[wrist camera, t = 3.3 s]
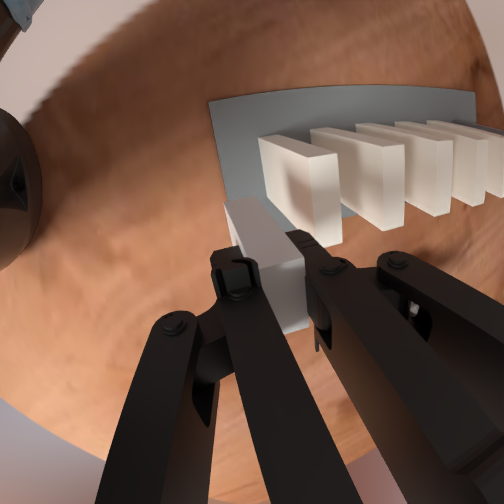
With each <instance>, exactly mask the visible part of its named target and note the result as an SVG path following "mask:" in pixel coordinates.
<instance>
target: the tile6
mask: <svg viewBox="0 0 504 504" xmlns="http://www.w3.org/2000/svg"><path fill="white" fill-rule="evenodd" d="M453 124H458V125H463V126H467V127H471V128H476V129H480V130H484V131H488V132H491V133H495V134H499V135H502V136H504V130H501V129H497V128H493V127H489V126H485V125H481V124H477V123H472V122H468V121H463V120H453Z"/></svg>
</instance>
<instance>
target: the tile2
mask: <svg viewBox="0 0 504 504" xmlns="http://www.w3.org/2000/svg"><path fill="white" fill-rule="evenodd" d="M310 136H311V144H312V145H314V146H317V147H320V148H323V149H326V150H329V151H332V152H335V153H337V157H338V169H339V183H340V199H341V203H342V204H344V205H345V206H347V207H348V208H350V209H351V210H353V211H354V212H356V213H357V214H359V215H360V216H362V217H363V218H365V219H366V220H367V221H369V222H370V223H372V224H373V225H375V226H376V227H377V228H379V229H380V230H382V231H386V230H390V229H393V228H397V227H401V226H403V224H404V200H405V151H404V144H401V143H397V142H393V141H389V140H385V139H381V138H377V137H373V136H368V135H364V134H359V133H355V132H350V131H345V130H340V129H335V128H329V127H324V128H316V129H310Z"/></svg>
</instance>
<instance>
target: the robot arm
mask: <svg viewBox="0 0 504 504" xmlns="http://www.w3.org/2000/svg"><path fill="white" fill-rule="evenodd" d="M43 1H44V0H0V61H1V60H2V58H3V57H4V55H5V53H6V52H7V50H8V49H9V47H10V46H11V44H12V43H13V41H14V40H15V38H16V37H17V35H18V34H19V32H20V31H21V30H22V31H23V32H26V31H27V29H28V28H29V27H30V25H31V23H32V15H33V14H34V13H35V11H36V10H37V9H38V8H39V6H40V5H41V4H42V2H43ZM41 203H42V181H41V173H40V167H39V162H38V159H37V155H36V152H35V149H34V147H33V144H32V142H31V140H30V138H29V136H28V134H27V133H26V131H25V129H24V128H23V127H22V125H21V124H20V123H19V122H18V121H17V120H16V119H15V118H14V117H13V116H12V115H11V114H9V113H7V112H6V111H5V110H3V109H1V108H0V271H1V270H2V269H4V268H6V267H7V266H8V265H10V264H11V263H12V262H13V261H14V260H15V259H16V258H17V257H18V255H19V254H20V253H21V252H22V251H23V250H24V249H25V247H26V246H27V245H28V243H29V242H30V240H31V238H32V236H33V234H34V232H35V229H36V227H37V224H38V220H39V216H40V211H41ZM223 203H224V208H225V212H226V217H227V222H228V226H229V231H230V236H231V240H232V245H233V246H232V247H228V248H224V249H220V250H216V251H214V252H213V254H212V255H211V257H210V262H211V266H212V271H211V278H212V281H213V285H214V289H215V292H216V296H217V300H216V303H215V304H214V305H213V306H212V307H211V308H210V309H209V310H208V311H206V312H204V313H203V314H201V315H199V316H195V315H194V314H193V313H191V312H188V311H174V312H170V313H168V314H166V315H164V316H162V317H161V318H160V319H158V320H157V321H156V322H155V324H154V325H153V327H152V329H151V332H150V334H149V337H148V340H147V342H146V345H145V348H144V350H143V353H142V356H141V358H140V361H139V364H138V366H137V369H136V372H135V375H134V378H133V380H132V383H131V386H130V389H129V392H128V395H127V398H126V401H125V403H124V406H123V409H122V412H121V415H120V418H119V422H118V425H117V428H116V431H115V434H114V437H113V440H112V444H111V447H110V450H109V454H108V457H107V460H106V464H105V467H104V471H103V474H102V478H101V481H100V485H99V489H98V492H97V496H96V500H95V504H208V493H209V483H210V473H211V464H212V454H213V444H214V435H215V426H216V417H217V408H218V399H219V390H220V379H222V378H224V377H226V376H228V375H230V374H231V373H233V372H235V376H236V380H237V384H238V388H239V392H240V396H241V400H242V403H243V407H244V411H245V415H246V418H247V422H248V426H249V430H250V433H251V437H252V441H253V444H254V448H255V451H256V455H257V458H258V462H259V465H260V469H261V472H262V475H263V479H264V482H265V485H266V489H267V492H268V495H269V499H270V501H271V504H363V502H362V500H361V498H360V496H359V494H358V492H357V490H356V487H355V485H354V483H353V481H352V479H351V477H350V475H349V473H348V471H347V468H346V466H345V464H344V462H343V460H342V458H341V456H340V454H339V451H338V449H337V447H336V445H335V443H334V441H333V439H332V437H331V434H330V432H329V430H328V428H327V426H326V424H325V422H324V420H323V417H322V415H321V413H320V411H319V409H318V407H317V405H316V403H315V400H314V398H313V396H312V394H311V392H310V390H309V388H308V385H307V383H306V381H305V379H304V377H303V375H302V373H301V370H300V368H299V366H298V364H297V362H296V360H295V357H294V355H293V353H292V351H291V349H290V347H289V345H288V342H287V340H286V338H285V336H284V334H287V333H290V332H294V331H297V330H300V329H304V328H307V327H309V316H310V317H311V319H312V321H313V322H314V338H315V350H316V352H318V351H319V344H320V345H321V347H322V349H323V351H324V353H325V354H326V356H327V358H328V360H329V361H330V363H331V365H332V367H333V369H334V370H335V372H336V374H337V376H338V377H339V379H340V381H341V383H342V385H343V386H344V388H345V390H346V392H347V394H348V395H349V397H350V399H351V401H352V402H353V404H354V406H355V408H356V410H357V411H358V413H359V415H360V417H361V419H362V421H363V422H364V424H365V426H366V428H367V430H368V431H369V433H370V435H371V437H372V439H373V441H374V442H375V444H376V446H377V448H378V449H379V451H380V453H381V455H382V457H383V459H384V461H385V462H386V464H387V466H388V468H389V470H390V472H391V473H392V475H393V477H394V479H395V481H396V482H397V485H398V487H399V488H400V490H401V492H402V494H403V496H404V498H405V500H406V501H407V504H504V305H502V304H500V303H499V302H497V301H495V300H494V299H492V298H490V297H488V296H487V295H485V294H483V293H481V292H480V291H478V290H476V289H474V288H473V287H471V286H469V285H467V284H465V283H464V282H462V281H460V280H458V279H456V278H454V277H453V276H451V275H449V274H447V273H445V272H443V271H441V270H439V269H438V268H436V267H434V266H432V265H430V264H428V263H426V262H424V261H422V260H420V259H418V258H416V257H414V256H412V255H410V254H408V253H405V252H400V251H390V252H386V253H383V254H382V255H380V256H379V257H378V260H377V267H369V268H356V267H355V266H354V265H353V264H352V263H351V262H350V261H348V260H347V259H344V258H340V257H332V256H331V255H330V254H329V253H328V252H327V251H326V250H325V249H324V248H323V247H322V246H321V245H320V244H319V242H318V241H317V240H315V238H314V237H313V236H312V235H311V234H310V233H308V232H306V231H303V230H301V229H298V230H293V231H289V232H285V233H284V231H283V230H282V229H281V228H280V226H279V225H278V224H277V223H276V222H275V220H274V219H273V218H272V217H271V215H270V214H269V213H268V212H267V210H266V209H265V208H264V207H263V206H262V204H261V203H260V202H259V201H258V200H257V198H256V197H255V196H249V197H245V198H240V199H236V200H232V201H227V202H223ZM412 302H413V303H415V304H416V305H418V306H419V308H418V313H417V314H415V313H413V312H411V311H410V310H411V304H412Z"/></svg>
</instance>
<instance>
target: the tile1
mask: <svg viewBox="0 0 504 504" xmlns="http://www.w3.org/2000/svg"><path fill="white" fill-rule="evenodd" d="M258 142H259V148H260V155H261V161H262V167H263V173H264V180H265V186H266V192H267V197H268V198H269V199H270V201H271V202H272V203H273V204H274V205H275V206H276V207H277V208H278V209H279V210H280V211H281V212H282V213H283V214H284V215H285V216H286V217H287V219H288V220H289V221H290V222H291V223H292V224H293V225H294V226H295V227H296V228H297V229H301V230H303V231H306V232H308V233H310V234H311V235H312V236H313V237H314V238H315V240H317V241H318V242H319V244H320V245H321V246H322V247H323V248H325V247H328V246H332V245H336V244H339V243H342V219H341V199H340V183H339V169H338V157H337V153H335V152H332V151H329V150H326V149H323V148H320V147H317V146H314V145H311V144H308V143H305V142H302V141H298V140H295V139H292V138H288V137H285V136H282V135H278V134H276V135H270V136H264V137H259V138H258Z"/></svg>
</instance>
